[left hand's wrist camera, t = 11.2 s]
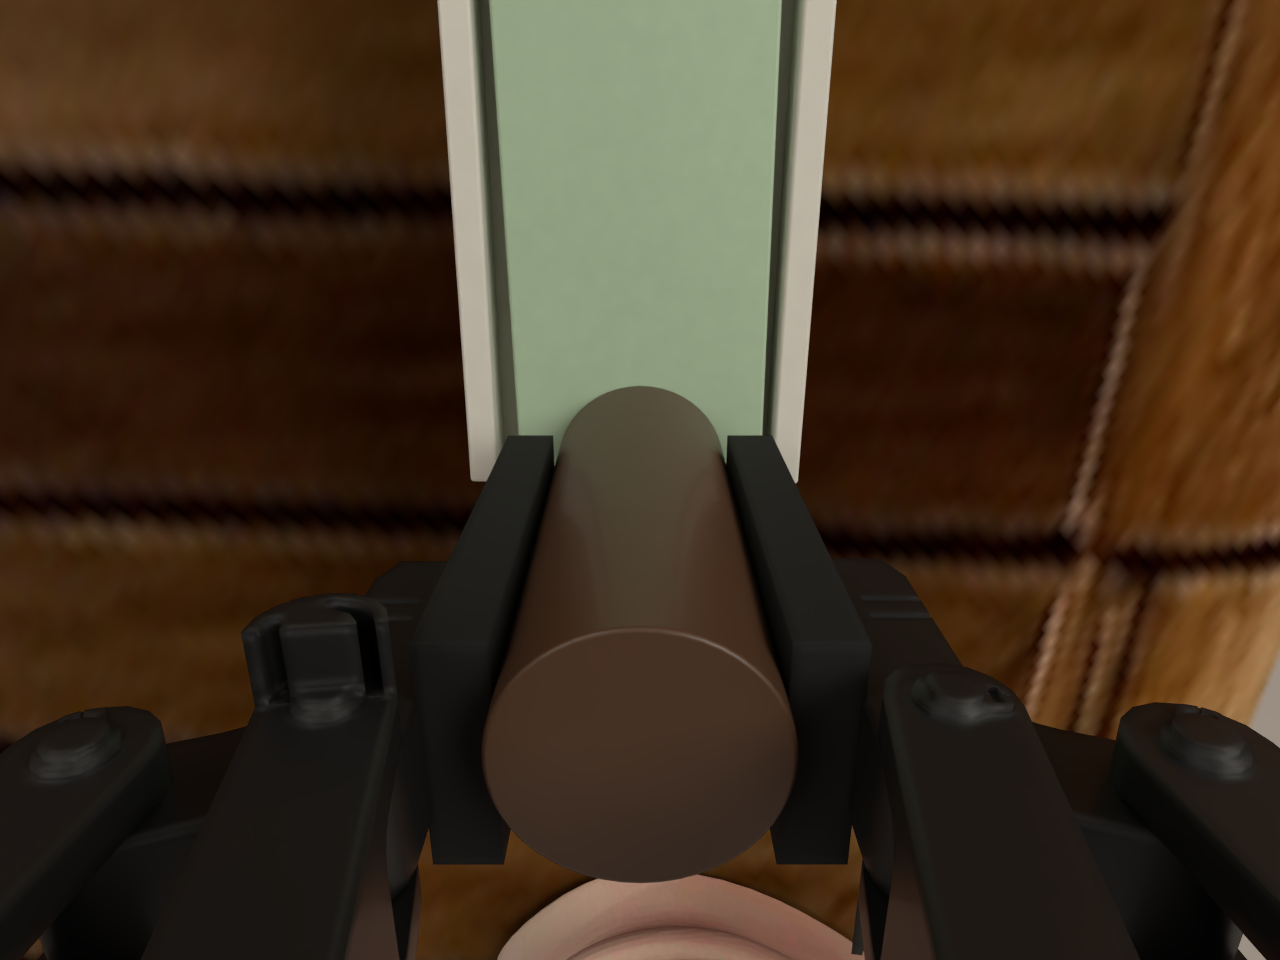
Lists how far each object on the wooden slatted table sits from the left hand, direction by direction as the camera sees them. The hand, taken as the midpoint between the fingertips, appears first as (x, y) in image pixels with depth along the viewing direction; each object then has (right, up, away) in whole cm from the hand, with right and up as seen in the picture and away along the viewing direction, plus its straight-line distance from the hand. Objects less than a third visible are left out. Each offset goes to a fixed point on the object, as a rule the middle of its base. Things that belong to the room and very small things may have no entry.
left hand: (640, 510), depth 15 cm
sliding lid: (0, +6, 0) cm, 6 cm away
